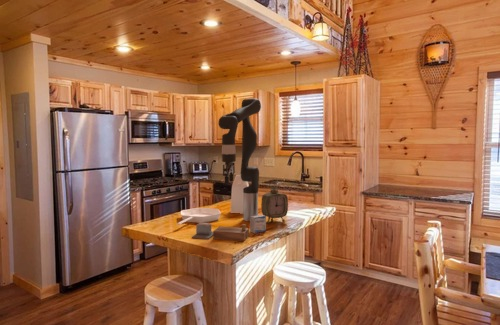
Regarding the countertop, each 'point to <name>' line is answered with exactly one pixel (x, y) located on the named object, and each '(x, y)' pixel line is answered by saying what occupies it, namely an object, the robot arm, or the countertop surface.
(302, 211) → the countertop surface
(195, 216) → the pan
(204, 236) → the rubber mat
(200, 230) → the lever cap
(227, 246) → the countertop surface
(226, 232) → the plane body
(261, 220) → the medicine box
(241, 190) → the milk
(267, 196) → the tabletop clock
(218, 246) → the countertop surface
